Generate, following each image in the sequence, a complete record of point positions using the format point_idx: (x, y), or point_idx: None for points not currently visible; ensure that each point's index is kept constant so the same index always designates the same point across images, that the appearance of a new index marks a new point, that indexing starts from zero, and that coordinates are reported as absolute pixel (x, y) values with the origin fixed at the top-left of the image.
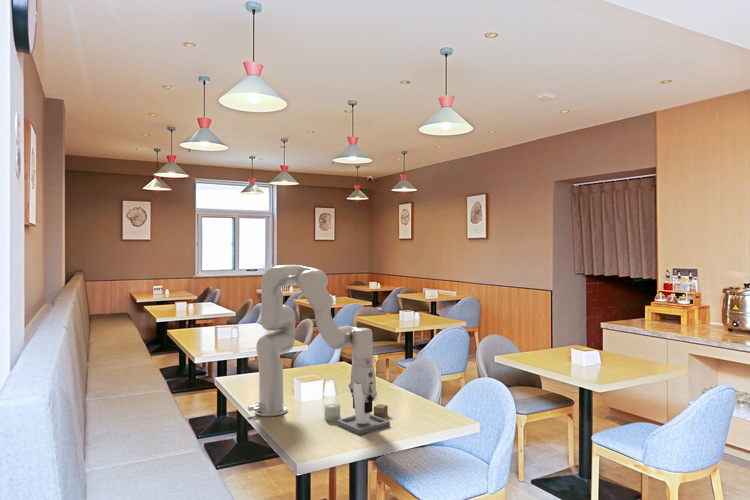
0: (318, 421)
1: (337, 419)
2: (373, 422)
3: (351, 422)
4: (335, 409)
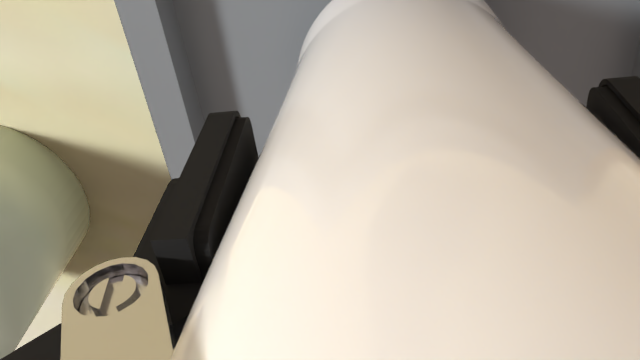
0: (45, 316)
1: (76, 192)
2: None
3: None
4: (28, 298)
